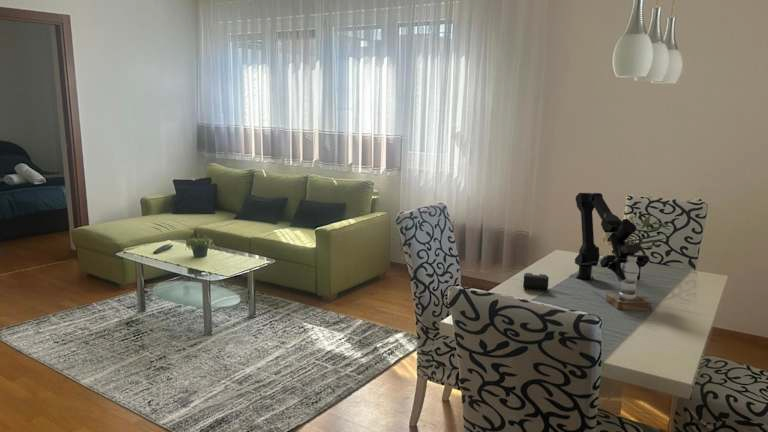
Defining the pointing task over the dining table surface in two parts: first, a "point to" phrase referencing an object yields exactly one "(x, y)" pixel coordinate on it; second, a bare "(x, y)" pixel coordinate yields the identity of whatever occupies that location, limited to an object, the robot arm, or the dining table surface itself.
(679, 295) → the dining table surface
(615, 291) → the felt coaster
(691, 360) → the dining table surface
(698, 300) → the dining table surface
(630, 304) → the walnut collar
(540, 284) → the end cap
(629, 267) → the plastic bottle
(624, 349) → the dining table surface
